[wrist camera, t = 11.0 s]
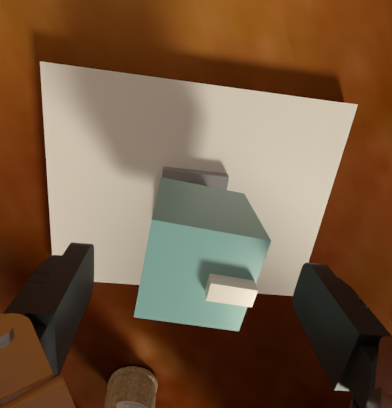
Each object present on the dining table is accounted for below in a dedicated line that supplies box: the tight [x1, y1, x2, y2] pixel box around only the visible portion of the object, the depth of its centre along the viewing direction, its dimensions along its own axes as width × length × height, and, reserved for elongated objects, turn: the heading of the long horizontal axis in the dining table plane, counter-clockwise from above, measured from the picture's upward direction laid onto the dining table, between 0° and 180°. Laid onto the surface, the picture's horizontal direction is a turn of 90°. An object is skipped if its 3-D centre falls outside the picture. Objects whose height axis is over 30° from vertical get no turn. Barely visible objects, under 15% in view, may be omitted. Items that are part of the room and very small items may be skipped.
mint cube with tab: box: [134, 177, 271, 331], centre depth 13 cm, size 4×4×6 cm
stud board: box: [40, 61, 358, 296], centre depth 18 cm, size 18×14×5 cm
